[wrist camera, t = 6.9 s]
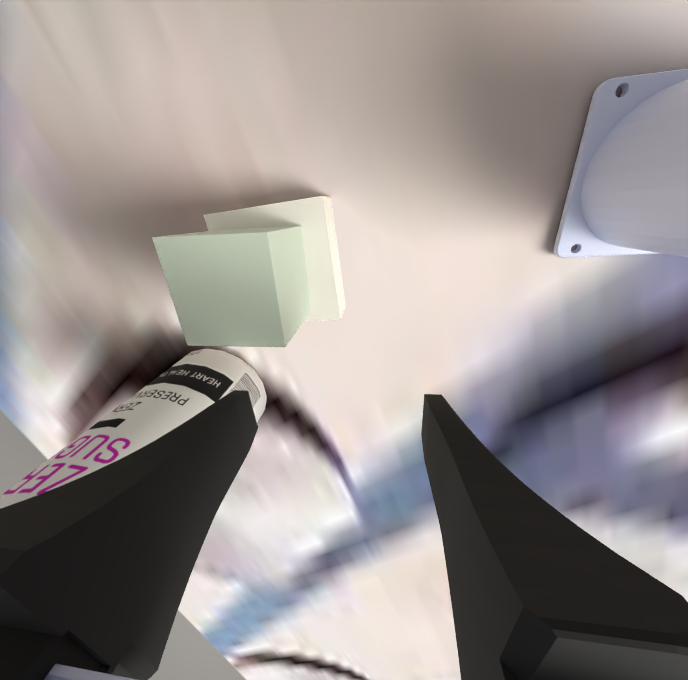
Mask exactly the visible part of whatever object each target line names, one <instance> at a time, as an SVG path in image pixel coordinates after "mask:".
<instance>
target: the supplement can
mask: <svg viewBox="0 0 688 680" xmlns="http://www.w3.org/2000/svg"><path fill="white" fill-rule="evenodd" d="M234 390H248V392H249V396H250V400H251V403H252V407H253V411H254V414H255V418H256V422H258V420H259V419H260V417H261V415H262V414H263V412H264V410H265V405H266V399H267V396H266V393H265V389H264V385H263V383H262V381H261V380H260V378H259V377H258V375H257V374H256V372H255V371H254V370H253V369H252V368H251V367H250V366H249V365H248V364H246V363H245V362H244V361H243V360H242V359H240V358H238V357H236V356H234V355H231V354H229V353H227V352H225V351H221V350H213V349H201V350H197V351H192V352H190V353H189V354H188V355H186V356H185V357H184V358H182V359H181V360H180V361H178V362H177V363H176V364H174V365H173V366H172V367H170V368H169V369H168V370H166V371H165V372H164V373H162V374H161V375H160V376H158V377H157V378H156V379H154V380H153V381H152V382H151V383H149V384H148V385H147V386H145V387H144V388H143V389H141V390H140V391H139V392H137V393H136V394H135V395H133V396H132V397H131V398H129V399H128V400H127V401H125V402H124V403H123V404H121V405H120V406H119V407H117V408H116V409H115V410H113V411H112V412H111V413H110V414H108V415H107V416H106V417H104V418H103V419H102V420H100V421H99V422H98V423H96V424H95V425H94V426H92V427H91V428H90V429H88V430H87V431H86V432H84V433H83V434H82V435H80V436H79V437H78V438H76V439H75V440H74V441H72V442H71V443H70V444H68V445H67V446H66V447H65V448H63V449H62V450H61V451H59V452H58V453H57V454H55V455H54V456H53V457H51V458H50V459H49V460H47V461H46V462H45V463H43V464H42V465H41V466H39V467H38V468H37V469H35V470H34V471H33V472H31V473H30V474H29V475H27V476H26V477H25V478H24V479H22V480H21V481H20V482H18V483H17V484H16V485H15V486H13V487H12V488H10V489H9V490H8V491H6V492H5V493H4V494H2V495H1V496H0V509H1V508H4V507H6V506H9V505H12V504H15V503H18V502H20V501H23V500H26V499H29V498H31V497H34V496H37V495H39V494H42V493H44V492H47V491H49V490H52V489H54V488H57V487H59V486H62V485H64V484H66V483H69V482H71V481H74V480H76V479H78V478H81V477H83V476H85V475H87V474H89V473H92V472H94V471H96V470H98V469H100V468H102V467H104V466H106V465H109V464H111V463H113V462H115V461H117V460H119V459H121V458H123V457H125V456H127V455H129V454H131V453H133V452H135V451H137V450H138V449H140V448H142V447H144V446H146V445H148V444H149V443H151V442H153V441H155V440H156V439H158V438H160V437H162V436H163V435H165V434H166V433H168V432H170V431H171V430H173V429H175V428H176V427H178V426H179V425H181V424H183V423H184V422H186V421H187V420H189V419H190V418H192V417H194V416H195V415H197V414H198V413H200V412H201V411H203V410H204V409H206V408H207V407H209V406H210V405H212V404H213V403H215V402H216V401H218V400H219V399H221V398H222V397H224V396H226V395H227V394H229V393H231V392H232V391H234Z"/></svg>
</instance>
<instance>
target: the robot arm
mask: <svg viewBox="0 0 688 680" xmlns="http://www.w3.org/2000/svg"><path fill="white" fill-rule="evenodd" d="M618 86H620V87H621V88H622V94H621V96H620V97H617V96H616V95H615V94H616V89H617V87H618ZM575 244H576V245H577V248H576V250H575V251H573V252H571V248H572V246H573V245H575ZM553 252H554V254H555V255H556V256H557V257H561V258H570V257H593V256H615V255H638V254H660V253H662V254H668V255H674V256H680V257H686V258H688V68H687V69H679V70H671V71H663V72H655V73H648V74H640V75H632V76H624V77H616V78H611V79H608V80H607V81H605V82H603V83H602V84H600V85H599V86H598V87H597V89H596V90H595V92H594V94H593V97H592V101H591V105H590V109H589V112H588V116H587V120H586V124H585V128H584V132H583V136H582V140H581V144H580V147H579V151H578V155H577V159H576V163H575V167H574V171H573V175H572V179H571V183H570V186H569V190H568V194H567V198H566V202H565V206H564V210H563V214H562V218H561V221H560V225H559V229H558V233H557V237H556V241H555V245H554V249H553ZM257 429H258V425H257V422H256V418H255V414H254V411H253V407H252V403H251V400H250V396H249V392H248V390H234V391H232V392H231V393H229V394H227V395H226V396H224V397H222V398H221V399H219V400H218V401H216V402H215V403H213V404H212V405H210V406H209V407H207V408H206V409H204V410H203V411H201V412H200V413H198V414H197V415H195V416H194V417H192V418H190V419H189V420H187V421H186V422H184V423H183V424H181V425H179V426H178V427H176V428H175V429H173V430H171V431H170V432H168V433H166V434H165V435H163V436H162V437H160V438H158V439H156V440H155V441H153V442H151V443H149V444H148V445H146V446H144V447H142V448H140V449H138V450H137V451H135V452H133V453H131V454H129V455H127V456H125V457H123V458H121V459H119V460H117V461H115V462H113V463H111V464H109V465H106V466H104V467H102V468H100V469H98V470H96V471H94V472H92V473H89V474H87V475H85V476H83V477H81V478H78V479H76V480H74V481H71V482H69V483H66V484H64V485H62V486H59V487H57V488H54V489H52V490H49V491H47V492H44V493H42V494H39V495H37V496H34V497H31V498H29V499H26V500H23V501H20V502H18V503H15V504H12V505H9V506H6V507H4V508H1V509H0V680H148V679H149V678H150V677H151V676H152V675H153V674H154V673H155V672H156V671H157V670H158V667H159V664H160V661H161V658H162V655H163V652H164V649H165V645H166V643H167V640H168V636H169V634H170V631H171V628H172V625H173V622H174V619H175V616H176V612H177V610H178V607H179V605H180V602H181V599H182V596H183V594H184V591H185V588H186V586H187V583H188V580H189V577H190V575H191V572H192V570H193V567H194V565H195V562H196V560H197V557H198V555H199V552H200V550H201V547H202V545H203V542H204V540H205V537H206V535H207V533H208V530H209V528H210V526H211V524H212V521H213V519H214V517H215V514H216V512H217V510H218V508H219V506H220V504H221V502H222V500H223V499H224V497H225V495H226V493H227V491H228V489H229V488H230V486H231V484H232V482H233V480H234V478H235V476H236V475H237V473H238V471H239V469H240V467H241V465H242V464H243V462H244V460H245V458H246V456H247V454H248V452H249V450H250V448H251V445H252V443H253V440H254V437H255V435H256V432H257ZM421 435H422V443H423V452H424V460H425V464H426V468H427V473H428V477H429V481H430V485H431V490H432V494H433V498H434V502H435V506H436V511H437V515H438V519H439V524H440V529H441V534H442V539H443V546H444V553H445V560H446V566H447V573H448V580H449V588H450V595H451V602H452V609H453V617H454V625H455V632H456V640H457V648H458V656H459V664H460V672H461V680H688V602H687V601H686V600H685V599H684V597H683V596H682V595H680V594H679V593H677V592H675V591H674V590H672V589H671V588H669V587H668V586H666V585H665V584H663V583H662V582H660V581H658V580H657V579H655V578H654V577H652V576H651V575H649V574H648V573H646V572H645V571H643V570H641V569H640V568H638V567H637V566H635V565H634V564H632V563H631V562H629V561H628V560H626V559H624V558H623V557H621V556H620V555H618V554H617V553H615V552H614V551H612V550H611V549H609V548H608V547H607V546H605V545H604V544H602V543H601V542H600V541H598V540H597V539H595V538H594V537H592V536H591V535H590V534H588V533H587V532H585V531H584V530H583V529H581V528H580V527H578V526H577V525H576V524H574V523H573V522H572V521H570V520H569V519H568V518H566V517H565V516H564V515H562V514H561V513H560V512H559V511H557V510H556V509H555V508H553V507H552V506H551V505H550V504H548V503H547V502H546V501H545V500H543V499H542V498H541V497H539V496H538V495H537V494H536V493H534V492H533V491H532V490H531V489H530V488H528V487H527V486H526V485H525V484H524V483H523V482H521V481H520V480H519V479H518V478H517V477H516V476H515V475H514V474H513V473H511V472H510V471H509V470H508V469H507V468H506V467H505V466H504V465H503V464H502V463H501V462H500V461H499V460H498V459H497V458H496V457H495V456H494V455H493V454H492V453H491V452H490V451H489V450H488V449H487V448H486V447H485V446H484V445H483V444H482V443H481V442H480V441H479V440H478V438H477V437H476V436H475V435H474V434H473V433H472V432H471V430H470V429H469V428H468V427H467V426H466V425H465V424H464V422H463V421H462V420H461V419H460V418H459V416H458V415H457V414H456V413H455V411H454V410H453V409H452V408H451V406H450V405H449V404H448V402H447V401H446V400H445V398H444V397H443V396H442V395H433V394H424V408H423V421H422V434H421Z"/></svg>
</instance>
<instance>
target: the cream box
mask: <svg viewBox="0 0 688 680" xmlns="http://www.w3.org/2000/svg"><path fill="white" fill-rule="evenodd" d="M203 216H204V219H205V222H206V226H207V229H208V231H211V230H223V229H245V228H266V227H287V226H302V235H303V245H304V254H305V264H306V273H307V283H308V292H309V301H310V313H309V314H308V316H307V317H306V319H305V320H304V321H303V322H316V321H328V320H341V317H342V314H343V312H344V309H345V298H344V291H343V284H342V276H341V269H340V262H339V254H338V247H337V239H336V232H335V225H334V217H333V210H332V203H331V197H326V196H317V197H311V198H305V199H299V200H292V201H286V202H280V203H274V204H268V205H261V206H255V207H249V208H243V209H236V210H230V211H224V212H218V213H211V214H205V215H203Z"/></svg>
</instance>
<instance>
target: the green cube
mask: <svg viewBox="0 0 688 680" xmlns="http://www.w3.org/2000/svg"><path fill="white" fill-rule="evenodd" d="M152 239H153V242H154V245H155V248H156V252H157V255H158V258H159V261H160V264H161V267H162V270H163V273H164V276H165V279H166V282H167V285H168V288H169V291H170V294H171V297H172V300H173V303H174V306H175V309H176V312H177V315H178V318H179V321H180V324H181V327H182V330H183V333H184V336H185V339H186V342H187V345H188V346H246V347H286V345H287V344H288V342H289V341H290V340H291V338H292V337H293V335H294V334H295V333H296V331H297V330H298V328H299V327H300V326H301V324H302V323H303V321H304V320H305V319H306V317H307V316H308V314H309V313H310V301H309V292H308V283H307V273H306V264H305V254H304V245H303V235H302V226H287V227H266V228H245V229H223V230H211V231H203V232H194V233H185V234H177V235H168V236H159V237H152Z"/></svg>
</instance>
